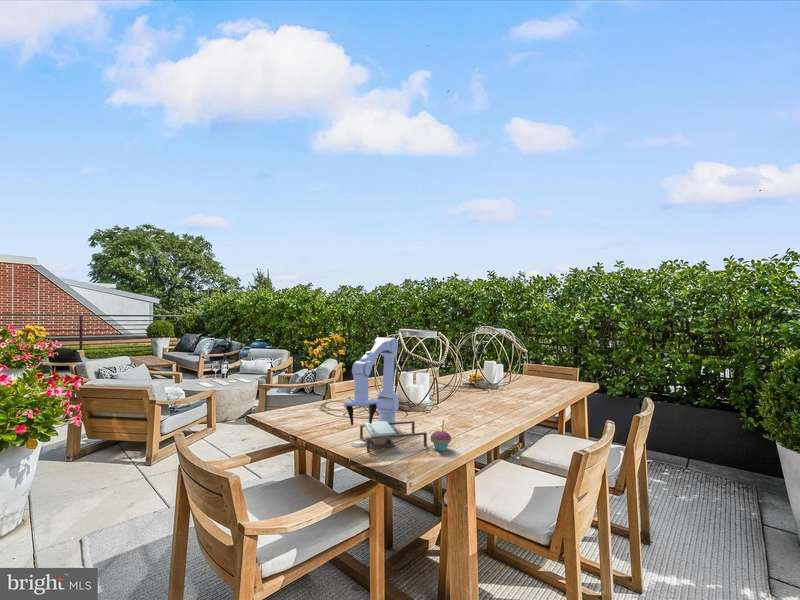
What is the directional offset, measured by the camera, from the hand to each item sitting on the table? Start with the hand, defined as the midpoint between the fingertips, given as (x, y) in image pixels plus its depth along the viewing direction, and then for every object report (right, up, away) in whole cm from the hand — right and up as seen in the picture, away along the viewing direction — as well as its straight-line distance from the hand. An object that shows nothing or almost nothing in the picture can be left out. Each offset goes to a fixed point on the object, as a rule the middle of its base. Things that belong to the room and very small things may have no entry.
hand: (361, 423), depth 161 cm
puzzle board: (+10, -10, +4) cm, 15 cm away
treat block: (+7, -9, +3) cm, 12 cm away
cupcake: (+33, -10, -1) cm, 34 cm away
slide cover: (+7, -4, +3) cm, 9 cm away
